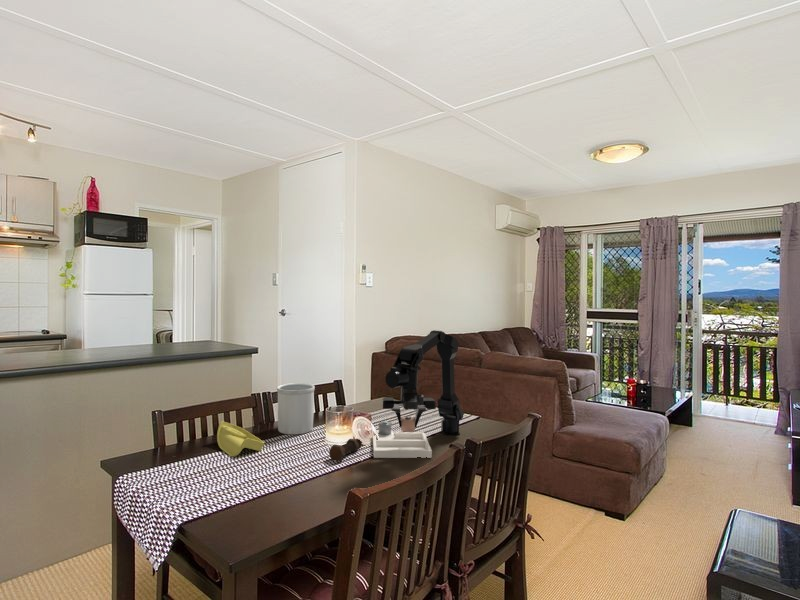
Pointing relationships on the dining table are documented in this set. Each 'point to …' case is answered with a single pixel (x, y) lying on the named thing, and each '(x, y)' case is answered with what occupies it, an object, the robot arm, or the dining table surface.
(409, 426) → the pink cube
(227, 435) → the plastic component
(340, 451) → the dark brown dumbbell
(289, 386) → the utensil holder
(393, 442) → the white flat rectangular tray
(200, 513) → the dining table surface
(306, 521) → the dining table surface
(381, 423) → the grey cylinder
